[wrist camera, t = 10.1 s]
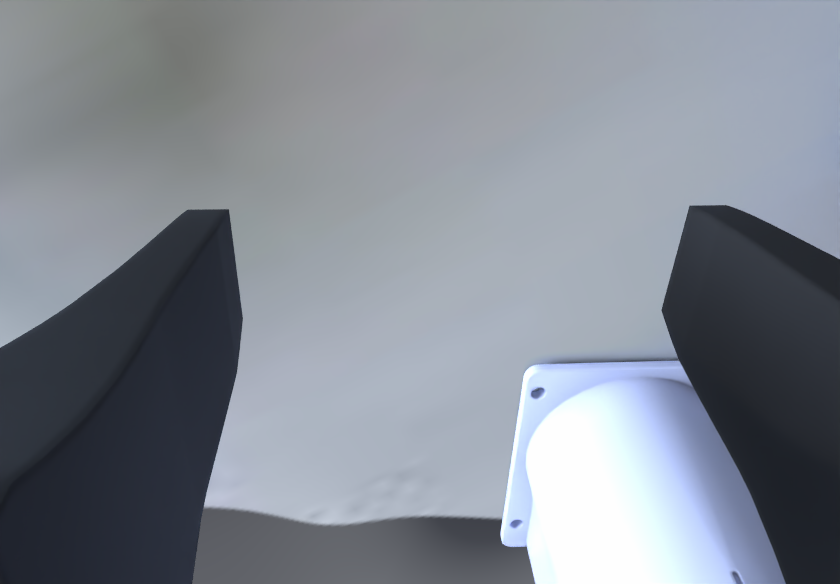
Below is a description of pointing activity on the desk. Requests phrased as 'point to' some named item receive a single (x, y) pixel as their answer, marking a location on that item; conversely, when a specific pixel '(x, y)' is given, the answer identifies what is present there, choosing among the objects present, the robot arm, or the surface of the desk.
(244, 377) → the desk surface
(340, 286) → the desk surface
